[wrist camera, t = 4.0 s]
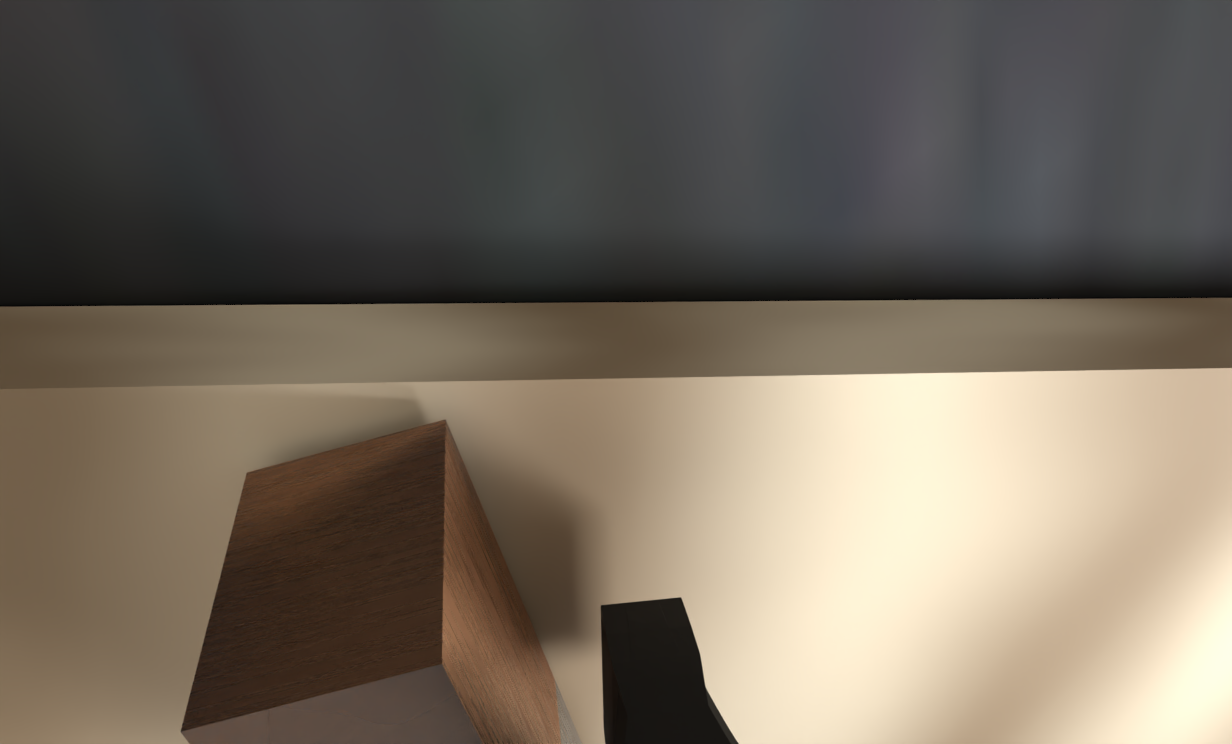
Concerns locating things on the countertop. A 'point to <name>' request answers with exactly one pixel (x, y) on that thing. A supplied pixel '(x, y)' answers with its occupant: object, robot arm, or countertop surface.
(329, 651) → the lever
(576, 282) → the countertop surface
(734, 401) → the lock board
